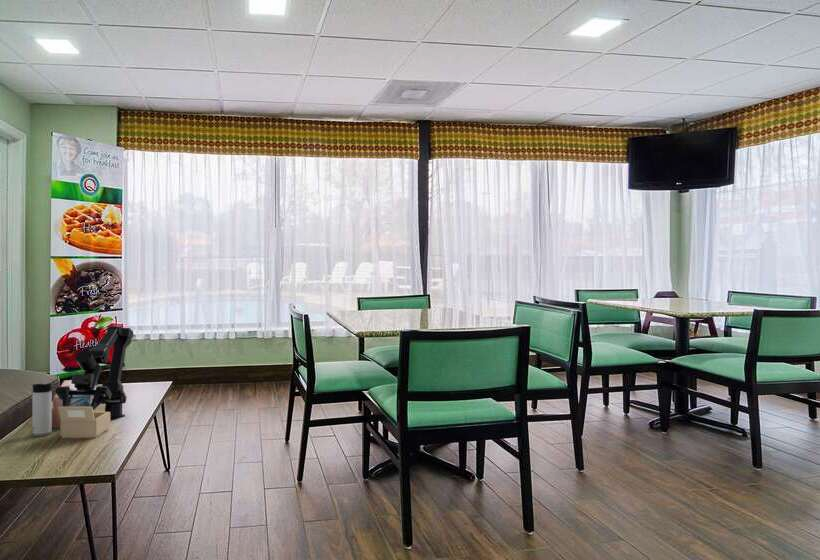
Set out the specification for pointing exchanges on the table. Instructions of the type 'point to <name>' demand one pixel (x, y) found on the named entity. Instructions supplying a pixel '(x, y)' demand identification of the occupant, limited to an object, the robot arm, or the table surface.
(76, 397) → the soda box
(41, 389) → the travel mug
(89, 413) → the carton flap
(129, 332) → the robot arm
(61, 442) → the table surface
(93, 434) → the carton
